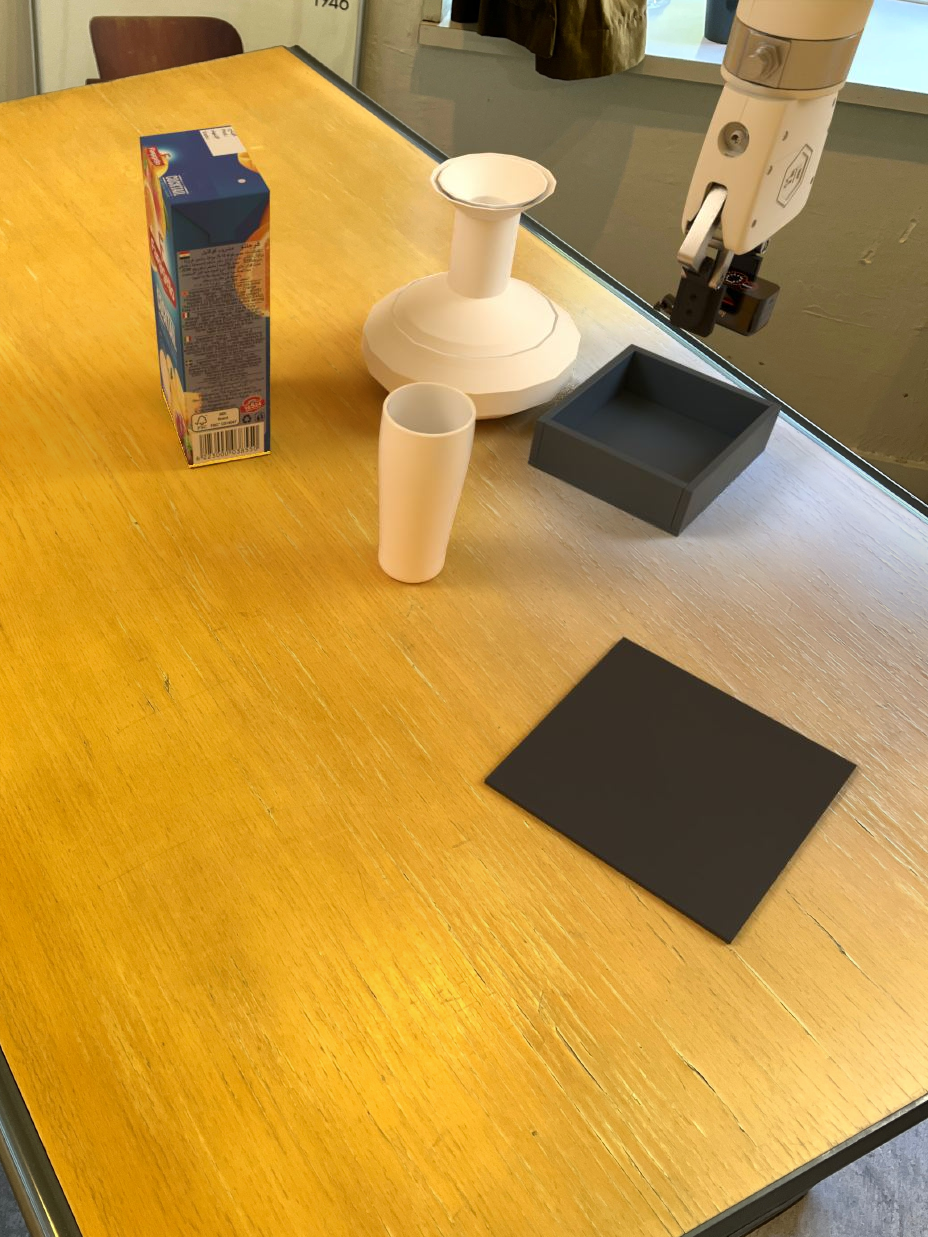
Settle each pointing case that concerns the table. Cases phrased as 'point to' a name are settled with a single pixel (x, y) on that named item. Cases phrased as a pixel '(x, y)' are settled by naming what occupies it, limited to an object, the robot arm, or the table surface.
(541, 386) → the white ceramic vase shape
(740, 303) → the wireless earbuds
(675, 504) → the box
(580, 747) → the mat
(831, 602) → the table surface
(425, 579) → the drinking glass
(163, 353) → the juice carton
